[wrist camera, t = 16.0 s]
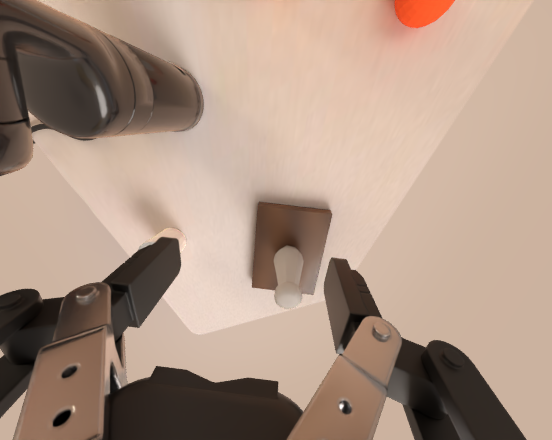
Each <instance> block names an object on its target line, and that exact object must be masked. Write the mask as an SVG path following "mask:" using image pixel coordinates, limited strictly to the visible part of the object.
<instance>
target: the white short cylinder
mask: <svg viewBox="0 0 552 440" xmlns="http://www.w3.org/2000/svg"><path fill="white" fill-rule="evenodd" d="M160 237H169V238H177V239H178V241H179V248H180V254H181V252H182V250H183V249H184V247H185V245H186V238H185V236H184V234H183V233H182V232H181V231H179V230H177V229H175V228H167V229H165V230H163V231H162V232H160V233H159V234H157V235H155V236H154V237H152V238H151V239H149V240H148V241H146V242H145V243H143V244H142V245H141V246H140V247H139V250H140V249H142V248H144V247H146V246H148V245H152V244H153V243H155V242H156V241H157V240H158V239H159V238H160Z"/></svg>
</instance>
